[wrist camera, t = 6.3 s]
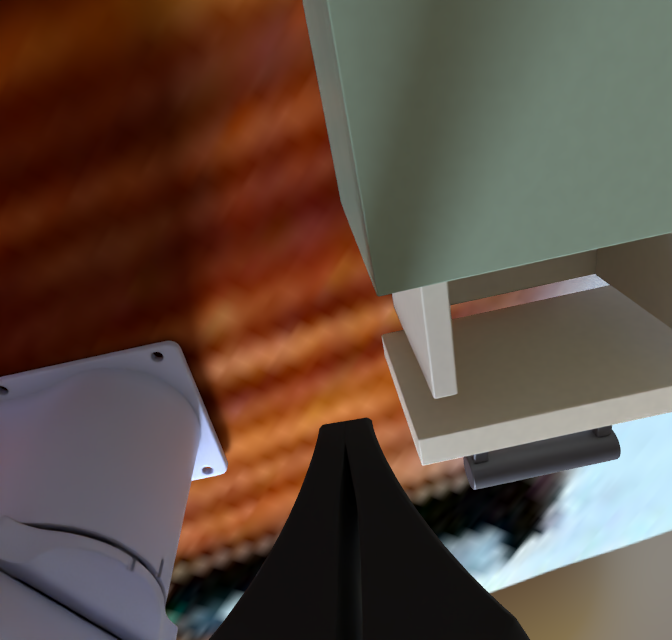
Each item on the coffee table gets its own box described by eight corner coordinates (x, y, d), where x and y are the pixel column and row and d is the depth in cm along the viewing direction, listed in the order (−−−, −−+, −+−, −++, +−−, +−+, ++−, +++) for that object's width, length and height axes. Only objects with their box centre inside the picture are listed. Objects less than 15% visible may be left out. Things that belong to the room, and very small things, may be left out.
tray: (603, 383, 25) (706, 490, 19) (397, 428, 25) (434, 548, 19) (639, -20, 16) (841, -60, 11) (331, 48, 17) (359, 48, 11)
